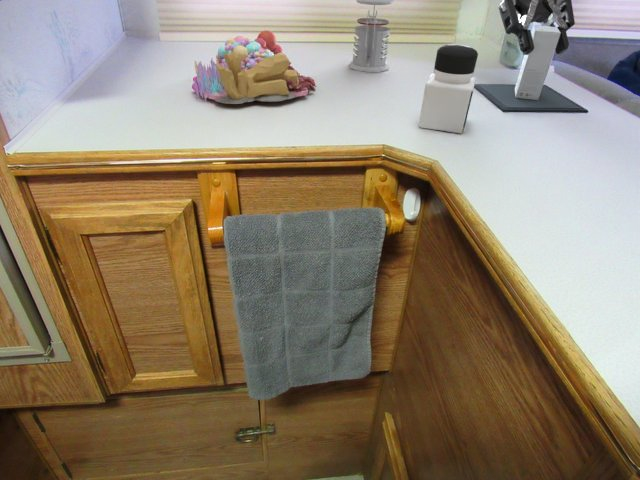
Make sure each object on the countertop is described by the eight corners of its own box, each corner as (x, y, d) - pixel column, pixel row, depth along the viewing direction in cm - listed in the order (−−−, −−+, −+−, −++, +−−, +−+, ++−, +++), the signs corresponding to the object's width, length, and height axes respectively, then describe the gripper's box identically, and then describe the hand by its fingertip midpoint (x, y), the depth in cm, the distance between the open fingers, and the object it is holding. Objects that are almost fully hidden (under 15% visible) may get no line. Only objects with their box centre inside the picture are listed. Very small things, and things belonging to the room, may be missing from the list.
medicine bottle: (462, 134, 67) (481, 54, 60) (417, 127, 69) (431, 48, 62) (466, 120, 73) (484, 44, 66) (424, 113, 74) (437, 40, 67)
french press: (390, 62, 103) (405, -63, 89) (388, 75, 94) (404, -63, 79) (350, 59, 105) (359, -65, 90) (344, 72, 95) (352, -65, 81)
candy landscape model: (335, 97, 80) (338, 45, 75) (216, 117, 70) (209, 58, 65) (277, 66, 98) (276, 22, 92) (175, 78, 88) (167, 29, 82)
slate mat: (544, 86, 90) (545, 84, 90) (587, 112, 78) (588, 109, 77) (472, 85, 89) (472, 83, 89) (503, 112, 77) (503, 109, 76)
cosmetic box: (538, 101, 80) (561, 32, 73) (514, 98, 82) (535, 30, 74) (536, 92, 85) (557, 26, 78) (513, 89, 86) (533, 24, 79)
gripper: (505, -48, 74) (525, 40, 72) (575, -46, 77) (595, 38, 75) (481, -16, 81) (498, 64, 79) (546, -15, 84) (564, 62, 82)
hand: (545, 51), depth 77 cm, fingers closed on cosmetic box, 6 cm apart
